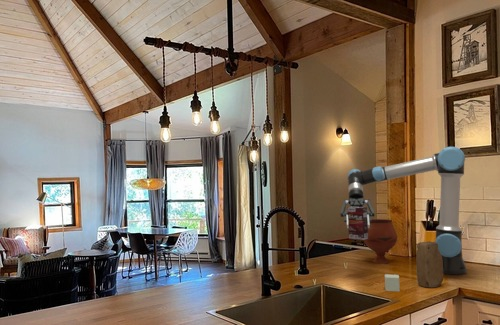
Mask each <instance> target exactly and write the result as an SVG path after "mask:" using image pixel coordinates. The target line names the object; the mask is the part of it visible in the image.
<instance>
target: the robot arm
mask: <svg viewBox="0 0 500 325" xmlns="http://www.w3.org/2000/svg"><path fill="white" fill-rule="evenodd" d="M465 161H466V156H465V153H464V151H462V149H460V148H459V147H456V146H447V147H444V148H442V149H441V150H440V151H439V152H437V153H433V154H432V156H429V157H428V156H427V157H423V158H420V159H415V160H410V161H404V162H401V163H397V164H396V163H394V164H392V165H387V166H379V165H378V166H375V167H371V168H368V169H365V170H360V169H358V168H353V169H351V170H349V171H348V173H347V181H348V182H347V185H348V186H347V187H348V200H346V199H343V200H342V207H341V209H340V217H343V218H344V219H343V220H344V223H346V229H348V228H349V226H348V208H347V209H346V206H347V205H348V204H349V206H348V207H366V205H367V224H368V228H370V224H369V222H371V219H372V218H373V217H375V210H374V208H373V206H372V204H371V199H367V200H366V199H364V185H368V184H373V183H380V182H385V181H389V180H392V179H393V180H394V179H398V178H405V177H408V176H412V175H417V174H418V175H419V174H423V173H428V172H433V171H436V172H437V174H438V175H439V176H440V198H439V200H440V201H439V202H440V203H439V223H438V224H439V225H437V226H436V227H435V241H434V242H436V243H437V244H438V250H439V251H440V254H441V256H442V260H443V275H454V276H455V275H465V274H467V272H468V270H467V266H466V263H465V261H464V258H463V247H462V246H463V244H462V238H463V237H462V235H463V234H462V233H463V229H462V228H461V227H460V226H459V225H460V198H461V197H460V196H461V194H460V192H461V178H462V177H463V176H464V175H465ZM365 204H366V205H365Z"/></svg>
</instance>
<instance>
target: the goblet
mask: <svg viewBox="0 0 500 325" xmlns="http://www.w3.org/2000/svg"><path fill="white" fill-rule="evenodd" d="M392 221H393V220H392V219H387V218H386V219H383V218H381V219H380V218H379V219H378V218H377V219H376V218H375V219H374V218H371V222H369V224H370V228H368V239H365V240H363V242H364V244H365V245H366V247H368V248H369V249H370V250H372V251H373V252H374V253H375V255H376V257H375V258H374V259H373V263H374V264H381V265H383V264H388V263H389V262H390V260H389V259H388V258H387V257H386V254H387V252H389V251H390V250H392V249H393V248H394V247H395V245H396V244H397V241H398V235H397V234H398V233H397V232H396V229H395V227H394V224H393V222H392Z"/></svg>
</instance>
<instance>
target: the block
mask: <svg viewBox="0 0 500 325" xmlns="http://www.w3.org/2000/svg"><path fill="white" fill-rule="evenodd" d="M415 253H416V257H415V260H416V279H417V283H418V285H420V286H421V287H424V288H428V289H429V288H432V289H433V288H437V287H440V286H441V285H442V283H443V281H444V274H443V260H442V256H441V254H440V251H439V250H438V244H437V243H436V242H435V241H429V240H428V241H420V242H418V243H416V252H415Z"/></svg>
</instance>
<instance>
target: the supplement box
mask: <svg viewBox="0 0 500 325" xmlns="http://www.w3.org/2000/svg"><path fill="white" fill-rule="evenodd" d="M347 209H348V226H349V228H347V229H348V239H353V240H362V241H364V240H365V239H368V224H367V209H368V206H365V207H349V206H348V207H347Z"/></svg>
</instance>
